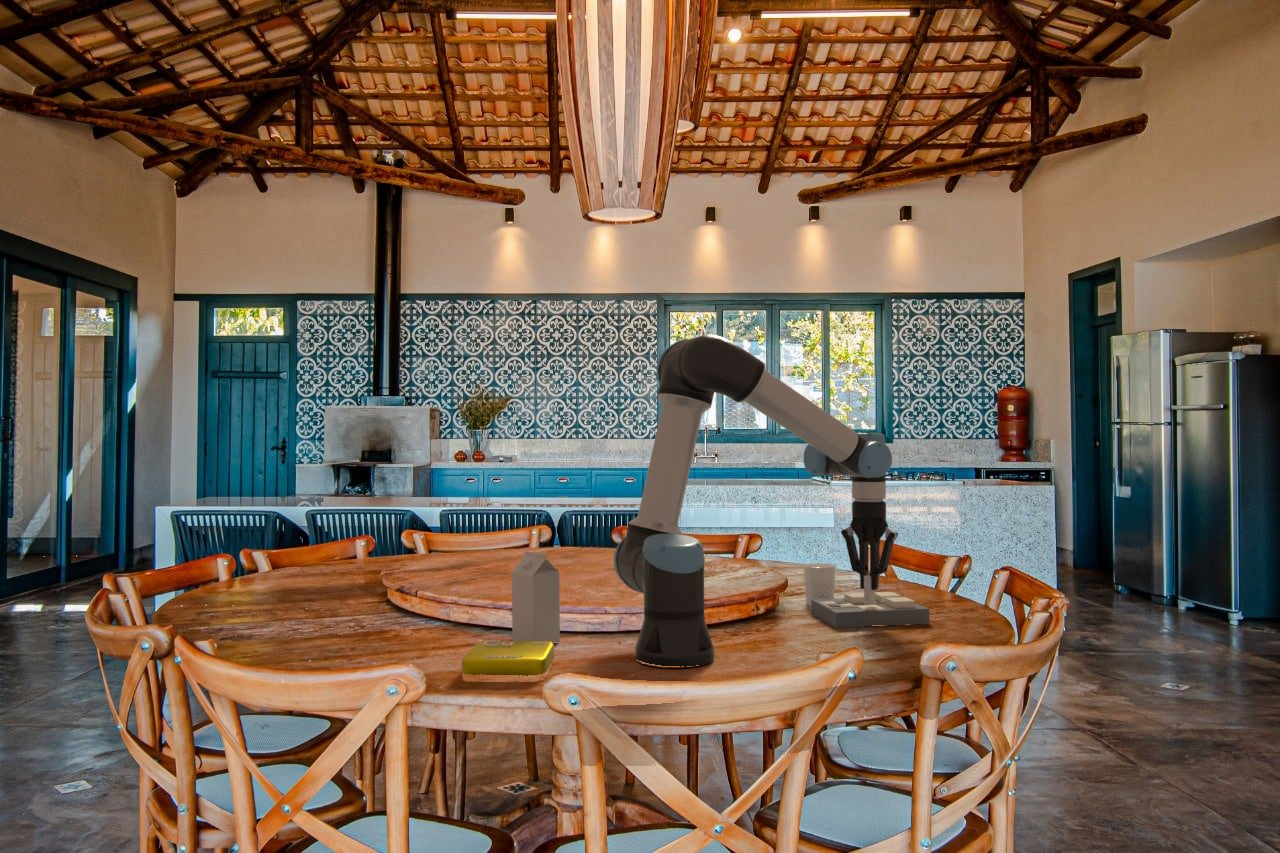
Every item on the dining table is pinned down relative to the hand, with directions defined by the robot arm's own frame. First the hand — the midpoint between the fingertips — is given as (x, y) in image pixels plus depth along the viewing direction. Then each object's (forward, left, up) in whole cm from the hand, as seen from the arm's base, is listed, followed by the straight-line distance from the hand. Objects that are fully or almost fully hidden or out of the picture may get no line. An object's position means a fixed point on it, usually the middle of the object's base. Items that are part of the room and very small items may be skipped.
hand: (869, 603), depth 202 cm
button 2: (0, 0, -3) cm, 3 cm away
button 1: (0, +7, -2) cm, 7 cm away
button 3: (+7, +7, -2) cm, 10 cm away
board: (+1, +4, -4) cm, 6 cm away
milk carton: (-76, -6, -5) cm, 76 cm away
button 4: (+7, 0, -2) cm, 7 cm away
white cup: (-4, +23, -5) cm, 23 cm away
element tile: (-81, -27, -5) cm, 86 cm away
